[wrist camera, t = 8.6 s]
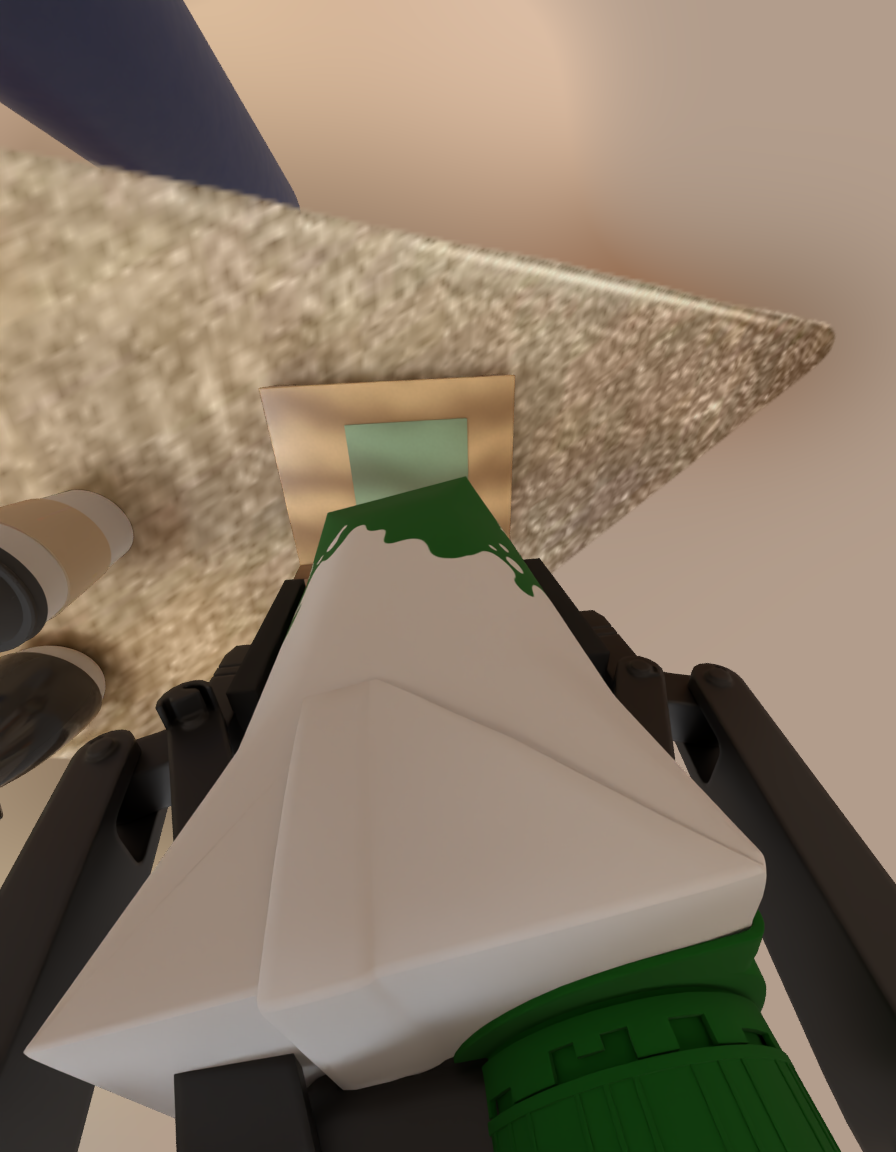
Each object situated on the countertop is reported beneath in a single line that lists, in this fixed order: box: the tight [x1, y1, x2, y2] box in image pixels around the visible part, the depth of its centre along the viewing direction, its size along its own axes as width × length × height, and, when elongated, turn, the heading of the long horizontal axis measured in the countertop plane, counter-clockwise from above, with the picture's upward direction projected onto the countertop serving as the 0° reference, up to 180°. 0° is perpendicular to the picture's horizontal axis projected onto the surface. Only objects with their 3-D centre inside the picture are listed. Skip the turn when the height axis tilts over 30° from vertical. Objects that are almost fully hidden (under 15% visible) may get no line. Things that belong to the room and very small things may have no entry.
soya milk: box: [23, 476, 841, 1152], centre depth 13 cm, size 9×9×20 cm
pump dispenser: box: [0, 646, 105, 819], centre depth 38 cm, size 10×10×15 cm
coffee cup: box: [0, 490, 133, 652], centre depth 31 cm, size 9×9×15 cm
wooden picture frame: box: [259, 374, 515, 586], centre depth 36 cm, size 16×20×7 cm
